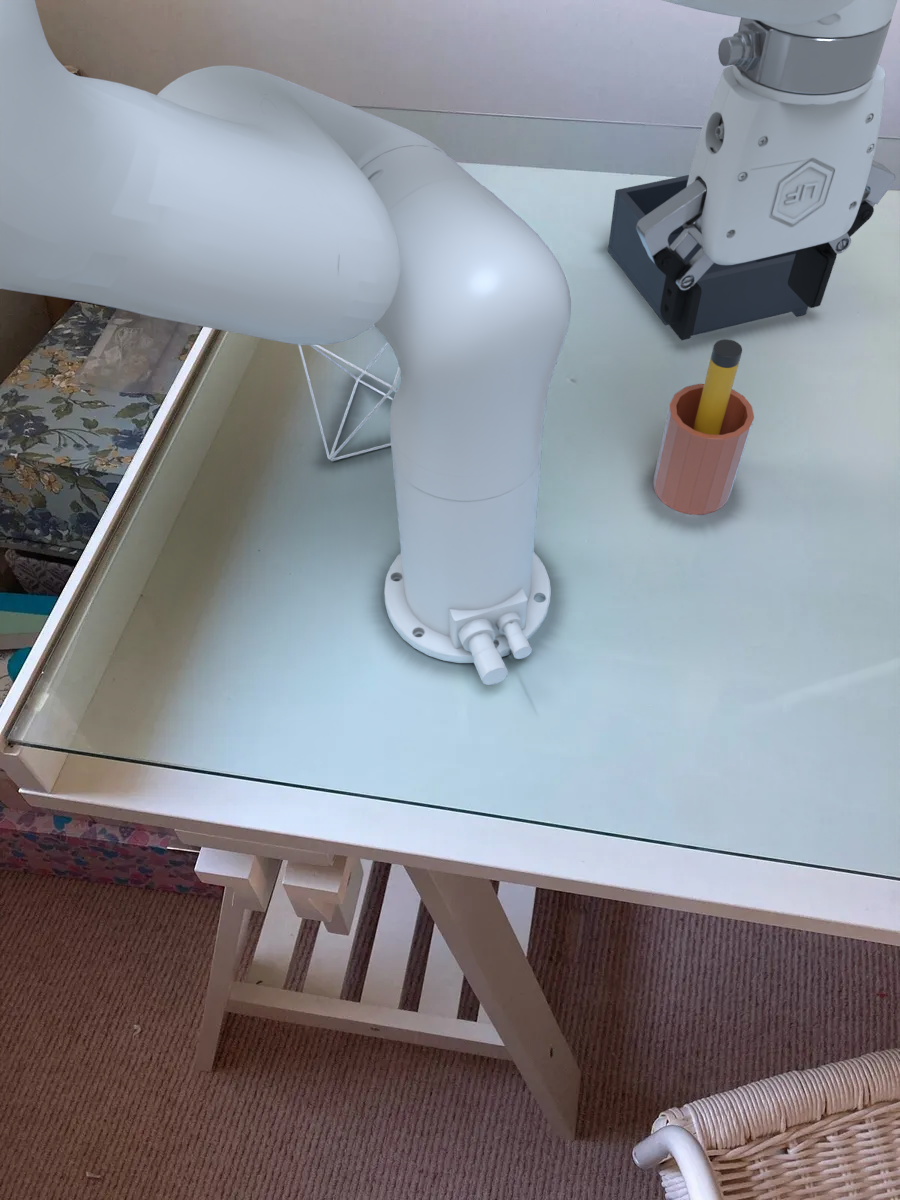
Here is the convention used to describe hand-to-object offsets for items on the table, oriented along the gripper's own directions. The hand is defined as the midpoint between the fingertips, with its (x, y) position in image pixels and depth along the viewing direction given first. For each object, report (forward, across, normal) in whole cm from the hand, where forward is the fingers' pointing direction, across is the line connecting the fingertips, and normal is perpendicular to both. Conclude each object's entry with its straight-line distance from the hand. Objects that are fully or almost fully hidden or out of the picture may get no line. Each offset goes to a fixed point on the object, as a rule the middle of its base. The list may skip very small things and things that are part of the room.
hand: (740, 311), depth 65 cm
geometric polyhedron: (+18, -22, +17) cm, 33 cm away
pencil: (+17, 0, 0) cm, 17 cm away
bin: (+18, +15, +26) cm, 35 cm away
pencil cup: (+18, 0, 0) cm, 18 cm away
